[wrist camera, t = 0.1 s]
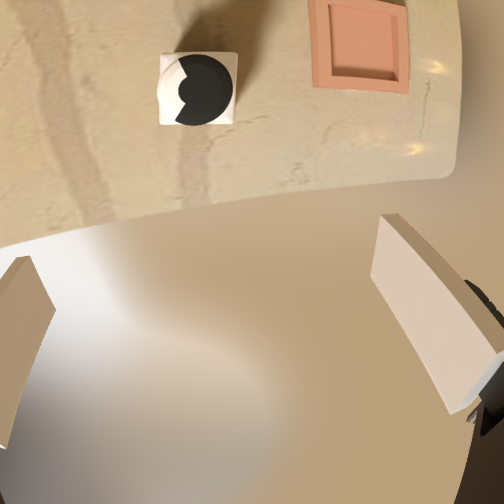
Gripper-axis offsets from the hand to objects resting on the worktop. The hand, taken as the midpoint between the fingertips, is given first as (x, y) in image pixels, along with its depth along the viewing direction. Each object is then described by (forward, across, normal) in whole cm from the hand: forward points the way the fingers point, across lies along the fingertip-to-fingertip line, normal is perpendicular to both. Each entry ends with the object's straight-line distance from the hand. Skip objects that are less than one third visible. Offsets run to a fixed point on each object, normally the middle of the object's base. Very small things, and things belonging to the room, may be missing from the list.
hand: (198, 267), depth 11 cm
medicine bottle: (+28, 0, +5) cm, 29 cm away
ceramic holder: (+28, +18, +10) cm, 35 cm away
